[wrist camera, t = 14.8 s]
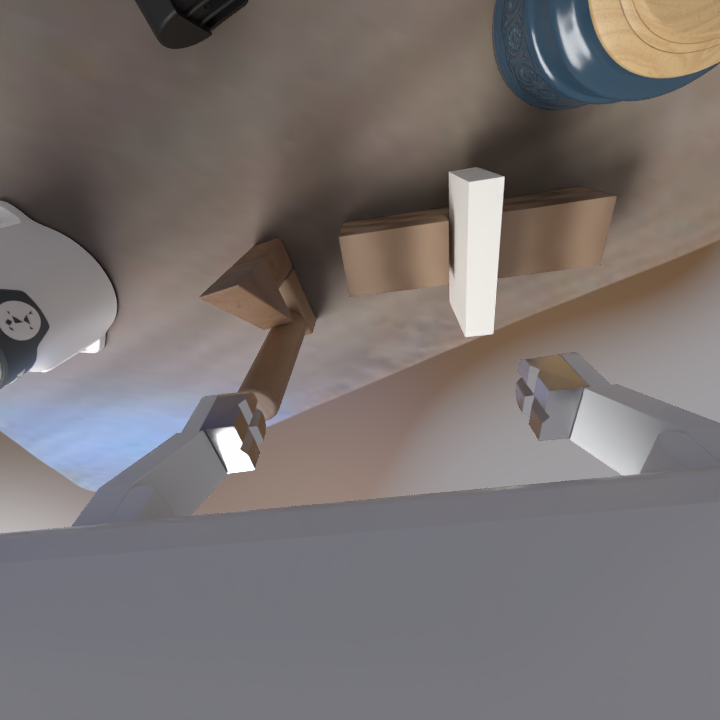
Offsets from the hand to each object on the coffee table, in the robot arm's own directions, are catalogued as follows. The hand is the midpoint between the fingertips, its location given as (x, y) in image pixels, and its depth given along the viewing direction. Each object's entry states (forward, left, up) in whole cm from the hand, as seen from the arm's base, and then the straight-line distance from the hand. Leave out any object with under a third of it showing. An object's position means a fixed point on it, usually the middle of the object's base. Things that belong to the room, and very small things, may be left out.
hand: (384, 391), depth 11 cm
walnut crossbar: (+8, -4, -30) cm, 31 cm away
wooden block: (-12, -7, -30) cm, 33 cm away
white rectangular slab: (+8, -4, -28) cm, 29 cm away
